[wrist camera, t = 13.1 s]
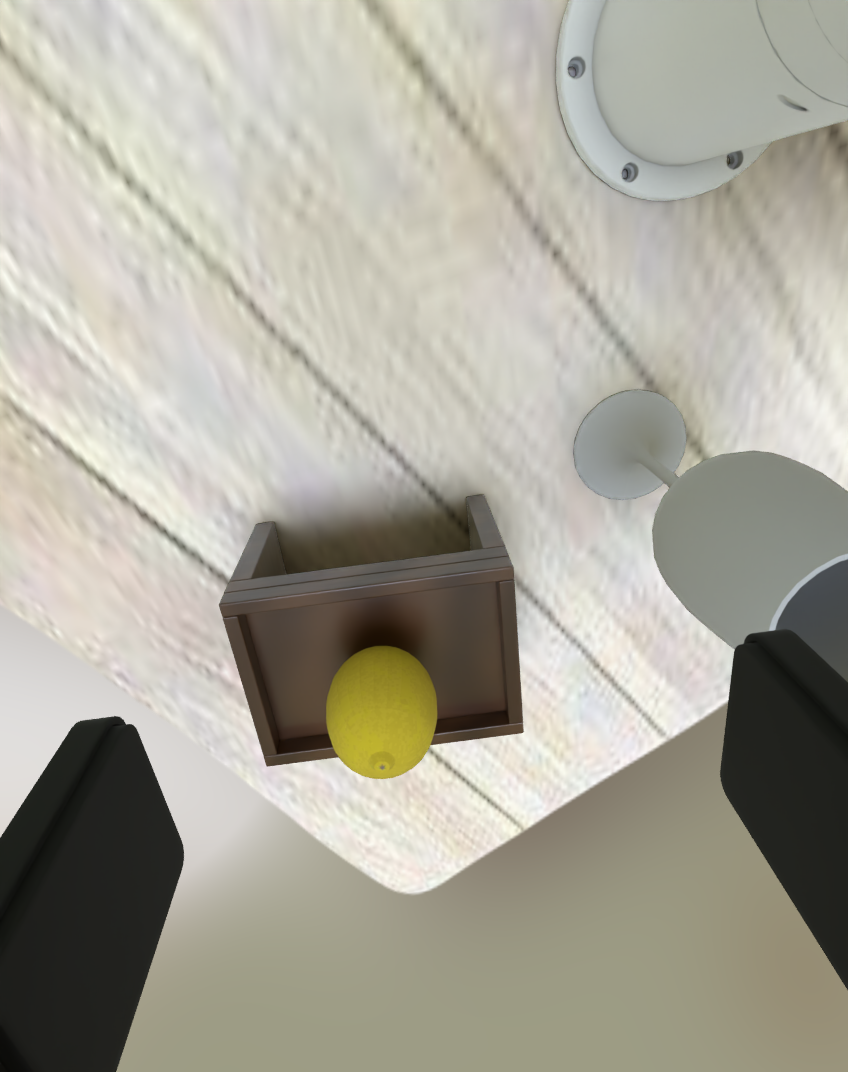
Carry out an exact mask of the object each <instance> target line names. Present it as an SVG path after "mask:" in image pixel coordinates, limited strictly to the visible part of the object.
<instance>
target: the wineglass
mask: <svg viewBox="0 0 848 1072" xmlns="http://www.w3.org/2000/svg"><path fill="white" fill-rule="evenodd" d="M685 445H686V427H685V424H684V421H683V418H682V415H681V413H680V412H679V410H678V409H677V408H676V406H675V405H674V404H673V403H672V402H670V401H669V400H668V399H667V398H665V397H664V396H662V395H659V394H657V393H655V392H652V391H646V390H638V389H637V390H629V391H623V392H620V393H617V394H615V395H612V396H610V397H608V398H607V399H605V400H603V401H602V402H600V403H599V404H597V405H596V406H595V407H594V408H593V409H592V410H591V411H590V412H589V413H588V414H587V416H586V418H585V419H584V421H583V422H582V424H581V425H580V427H579V430H578V433H577V435H576V438H575V443H574V452H573V454H574V461H575V467H576V469H577V471H578V474H579V476H580V478H581V479H582V480H583V481H584V483H585V484H586V485H587V486H588V487H589V488H590V489H591V490H593V491H594V492H596V493H597V494H599V495H601V496H604V497H607V498H609V499H618V500H626V499H634V498H638V497H641V496H643V495H646V494H649V493H650V492H652V491H654V490H655V489H657V488H659V487H660V486H661V485H662V484H663V483H665V484H666V485H667V486H669V487H670V488H669V490H668V491H667V492H666V494H665V495H664V496H663V498H662V500H661V502H660V504H659V507H658V509H657V511H656V514H655V518H654V524H653V530H652V532H653V549H654V558H655V561H656V563H657V566H658V568H659V571H660V573H661V575H662V577H663V578H664V580H665V582H666V584H667V585H668V587H669V588H670V589H671V590H672V592H673V593H674V594H675V595H676V596H677V598H678V599H679V600H680V601H681V603H682V604H683V605H684V606H685V607H686V609H687V610H688V611H689V612H690V613H691V614H693V615H694V616H695V617H696V618H697V619H698V620H699V621H700V622H702V623H703V624H704V625H705V626H706V627H707V628H709V629H710V630H711V631H712V632H713V633H715V634H716V635H717V636H718V637H720V638H721V639H722V640H723V641H724V642H726V643H727V644H728V645H729V646H731V647H732V648H733V649H735V648H736V647H737V645H740V644H744V640H745V638H746V636H747V635H749V634H751V633H758V632H766V631H773V630H781V629H788V630H791V631H793V632H794V633H796V634H797V635H798V636H799V637H800V638H801V639H802V640H803V641H804V642H805V643H806V644H808V645H809V646H810V647H811V648H812V649H813V650H814V651H815V652H816V653H817V654H818V655H819V656H820V657H821V658H823V659H824V660H825V661H826V662H827V663H828V664H829V665H830V666H831V667H832V668H833V669H834V670H835V671H836V672H837V673H839V674H840V675H841V676H842V677H843V678H844V679H845V680H846V681H847V682H848V491H846V490H845V489H844V488H842V487H841V486H840V485H838V484H837V483H836V482H834V481H833V480H831V479H830V478H828V477H827V476H826V475H824V474H823V473H821V472H819V471H817V470H815V469H813V468H811V467H809V466H807V465H805V464H802V463H800V462H797V461H795V460H792V459H790V458H787V457H784V456H781V455H778V454H774V453H769V452H760V451H746V452H738V453H730V454H722V455H718V456H716V457H713V458H710V459H707V460H704V461H702V462H701V463H699V464H697V465H696V466H694V467H692V468H691V469H689V470H687V471H686V472H685V473H684V474H683V475H682V476H681V477H678V476H677V475H676V474H674V471H675V470H676V469H677V467H678V466H679V463H680V461H681V459H682V457H683V454H684V450H685Z"/></svg>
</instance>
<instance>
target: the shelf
mask: <svg viewBox="0 0 848 1072" xmlns="http://www.w3.org/2000/svg"><path fill="white" fill-rule="evenodd" d="M466 502H467V513H468V524H469V535H470V546H471V551H464V552H457V553H449V554H441V555H434V556H426V557H418V558H410V559H403V560H395V561H387V562H379V563H372V564H364V565H356V566H349V567H341V568H333V569H325V570H318V571H310V572H302V573H295V574H287V575H286V571H285V566H284V562H283V558H282V554H281V550H280V545H279V541H278V537H277V533H276V528H275V524H274V522H268V523H260V524H256V525H255V528H254V530H253V532H252V534H251V536H250V538H249V541H248V543H247V545H246V547H245V549H244V551H243V553H242V556H241V558H240V560H239V562H238V564H237V566H236V569H235V571H234V573H233V575H232V577H231V579H230V582H229V583H228V586H227V588H226V590H225V592H224V595H223V597H222V599H221V601H220V603H219V607H220V610H221V614H222V616H223V621H224V624H225V627H226V631H227V634H228V638H229V641H230V644H231V648H232V651H233V654H234V658H235V661H236V664H237V668H238V671H239V675H240V678H241V681H242V685H243V688H244V691H245V695H246V698H247V701H248V705H249V708H250V712H251V715H252V718H253V722H254V725H255V728H256V732H257V735H258V739H259V742H260V745H261V749H262V752H263V755H264V759H265V763H266V766H275V765H282V764H290V763H298V762H305V761H313V760H321V759H328V758H336V757H339V756H338V755H337V754H336V752H335V750H334V748H333V745H332V742H331V739H330V736H329V733H328V729H327V723H326V703H327V696H328V693H329V690H330V687H331V684H332V681H333V678H334V676H335V675H336V673H337V672H338V670H339V669H340V667H341V666H342V664H343V663H344V662H345V661H347V660H348V659H349V658H350V657H351V656H353V655H354V654H355V653H357V652H359V651H361V650H363V649H366V648H370V647H374V646H391V647H396V648H399V649H401V650H404V651H406V652H408V653H410V654H411V655H412V656H414V657H415V658H416V659H418V661H419V662H420V663H421V664H422V665H423V667H424V668H425V669H426V670H427V672H428V674H429V676H430V678H431V681H432V683H433V686H434V688H435V692H436V698H437V723H436V727H435V731H434V735H433V739H432V742H431V745H435V744H443V743H450V742H458V741H466V740H473V739H481V738H488V737H496V736H504V735H511V734H519V733H523V732H524V731H523V714H522V698H521V682H520V665H519V649H518V633H517V616H516V600H515V584H514V570H513V565H512V563H511V560H510V558H509V555H508V552H507V550H506V547H505V545H504V542H503V540H502V537H501V535H500V533H499V530H498V528H497V525H496V523H495V520H494V518H493V515H492V513H491V510H490V508H489V506H488V503H487V501H486V498H485V496H484V495H476V496H468V497H466Z"/></svg>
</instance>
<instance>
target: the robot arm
mask: <svg viewBox="0 0 848 1072" xmlns="http://www.w3.org/2000/svg"><path fill="white" fill-rule="evenodd" d="M570 66H573V67H574V68H575V69H576V76H575V77H571V76H570V75H569V73H568V69H569V67H570ZM556 85H557V92H558V99H559V106H560V111H561V114H562V117H563V121H564V124H565V127H566V130H567V133H568V135H569V137H570V139H571V141H572V143H573V145H574V147H575V148H576V150H577V152H578V154H579V156H580V157H581V158H582V160H583V161H584V162H585V163H586V164H587V166H588V167H589V168H590V169H591V170H592V172H593V173H594V174H595V175H596V176H598V177H599V178H600V179H602V180H603V181H604V182H605V183H607V184H608V185H609V186H611V187H612V188H614V189H616V190H618V191H620V192H623V193H625V194H627V195H629V196H631V197H636V198H641V199H645V200H650V201H672V200H679V199H684V198H690V197H694V196H697V195H700V194H703V193H705V192H708V191H711V190H714V189H716V188H717V187H719V186H721V185H723V184H725V183H726V182H728V181H730V180H732V179H733V178H735V177H736V176H738V175H739V174H740V173H741V172H742V171H744V170H745V169H746V168H747V167H749V166H750V165H751V164H752V163H753V162H755V161H756V160H757V159H758V157H759V156H760V155H761V154H762V153H763V152H764V151H765V150H766V148H767V147H768V146H769V145H770V144H771V143H772V142H773V141H775V140H779V139H782V138H786V137H789V136H793V135H797V134H800V133H804V132H808V131H811V130H815V129H818V128H822V127H826V126H829V125H833V124H836V123H840V122H844V121H847V120H848V0H569V1H568V4H567V7H566V10H565V13H564V16H563V19H562V23H561V29H560V35H559V41H558V46H557V53H556ZM728 156H729V158H730V164H729V165H728V166H727V161H726V160H727V157H728ZM623 169H626V170H627V171H628V177H627V179H626V180H625V179H623V178H622V171H623ZM720 777H721V782H722V786H723V789H724V792H725V794H726V796H727V798H728V799H729V801H730V803H731V804H732V806H733V807H734V809H735V811H736V812H737V814H738V815H739V817H740V818H741V820H742V822H743V823H744V825H745V827H746V828H747V829H748V831H749V833H750V835H751V836H752V838H753V839H754V841H755V843H756V844H757V846H758V847H759V849H760V850H761V852H762V854H763V855H764V857H765V858H766V860H767V862H768V863H769V865H770V866H771V868H772V870H773V871H774V873H775V875H776V876H777V878H778V879H779V881H780V883H781V884H782V886H783V887H784V889H785V891H786V892H787V894H788V895H789V897H790V899H791V900H792V902H793V903H794V905H795V906H796V908H797V910H798V911H799V913H800V914H801V916H802V918H803V919H804V921H805V923H806V924H807V926H808V927H809V929H810V930H811V932H812V933H813V935H814V937H815V939H816V940H817V942H818V943H819V945H820V947H821V948H822V950H823V951H824V953H825V954H826V956H827V958H828V959H829V961H830V962H831V964H832V966H833V967H834V969H835V970H836V972H837V974H838V975H839V977H840V979H841V980H842V982H843V983H844V985H845V987H846V988H847V989H848V682H847V681H846V680H845V679H844V678H843V677H842V676H841V675H840V674H839V673H837V672H836V671H835V670H834V669H833V668H832V667H831V666H830V665H829V664H828V663H827V662H826V661H825V660H824V659H823V658H821V657H820V656H819V655H818V654H817V653H816V652H815V651H814V650H813V649H812V648H811V647H810V646H809V645H808V644H806V643H805V642H804V641H803V640H802V639H801V638H800V637H799V636H798V635H797V634H796V633H794V632H793V631H791V630H788V629H781V630H773V631H766V632H758V633H751V634H749V635H747V636H746V638H745V640H744V644H740V645H737V647H736V648H735V651H734V658H733V667H732V675H731V684H730V692H729V701H728V710H727V718H726V727H725V735H724V745H723V753H722V761H721V770H720ZM183 861H184V850H183V844H182V841H181V838H180V836H179V833H178V831H177V828H176V826H175V823H174V821H173V818H172V816H171V813H170V811H169V808H168V806H167V803H166V801H165V798H164V796H163V793H162V791H161V788H160V786H159V783H158V781H157V778H156V776H155V773H154V771H153V769H152V766H151V763H150V761H149V758H148V756H147V754H146V751H145V749H144V746H143V744H142V741H141V739H140V736H139V734H138V731H137V729H136V728H135V727H134V726H133V725H132V724H127V725H126V724H125V722H124V720H123V719H122V718H120V717H116V716H114V717H107V718H99V719H92V720H84V721H80V722H78V723H76V724H75V725H74V726H73V727H72V728H71V730H70V731H69V733H68V735H67V736H66V738H65V739H64V741H63V742H62V744H61V745H60V747H59V748H58V750H57V751H56V753H55V755H54V756H53V758H52V759H51V761H50V762H49V764H48V765H47V767H46V768H45V770H44V771H43V773H42V775H41V776H40V778H39V779H38V781H37V782H36V784H35V785H34V787H33V788H32V790H31V791H30V793H29V794H28V796H27V798H26V799H25V801H24V802H23V804H22V805H21V807H20V808H19V810H18V811H17V813H16V814H15V816H14V818H13V819H12V821H11V822H10V824H9V825H8V827H7V829H6V830H5V832H4V833H3V834H2V836H1V838H0V1072H116V1070H117V1067H118V1064H119V1061H120V1058H121V1055H122V1052H123V1049H124V1046H125V1043H126V1040H127V1037H128V1034H129V1030H130V1027H131V1024H132V1021H133V1018H134V1015H135V1012H136V1009H137V1006H138V1003H139V1000H140V997H141V994H142V991H143V987H144V984H145V981H146V978H147V975H148V972H149V969H150V966H151V963H152V960H153V957H154V954H155V951H156V948H157V944H158V941H159V938H160V935H161V932H162V929H163V926H164V923H165V920H166V917H167V914H168V911H169V908H170V904H171V901H172V898H173V895H174V892H175V889H176V886H177V883H178V880H179V877H180V874H181V870H182V867H183Z"/></svg>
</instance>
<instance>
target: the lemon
mask: <svg viewBox="0 0 848 1072" xmlns="http://www.w3.org/2000/svg"><path fill="white" fill-rule="evenodd" d="M326 723H327V729H328V733H329V736H330V739H331V742H332V745H333V748H334V750H335V752H336V754H337V755H338V756H339V758H340V759H341V761H342V762H343V763H344V764H345V765H346V766H348V767H349V768H350V769H351V770H352V771H354V772H356V773H358V774H360V775H362V776H365V777H369V778H374V779H386V778H393V777H396V776H399V775H402V774H403V773H405V772H407V771H409V770H410V769H412V768H413V767H414V766H416V765H417V764H418V763H419V762H420V761H421V760H422V758H423V757H424V755H425V754H426V752H427V750H428V749H429V747H430V745H431V742H432V739H433V735H434V731H435V727H436V723H437V698H436V692H435V688H434V686H433V683H432V681H431V678H430V676H429V674H428V672H427V670H426V669H425V668H424V667H423V665H422V664H421V663H420V662H419V661H418V659H416V658H415V657H414V656H412V655H411V654H410V653H408V652H406V651H404V650H401V649H399V648H396V647H391V646H374V647H370V648H366V649H363V650H361V651H359V652H357V653H355V654H354V655H353V656H351V657H350V658H349V659H348V660H347V661H345V662H344V663H343V664H342V666H341V667H340V669H339V670H338V672H337V673H336V675H335V676H334V678H333V681H332V684H331V687H330V690H329V693H328V696H327V703H326Z"/></svg>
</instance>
